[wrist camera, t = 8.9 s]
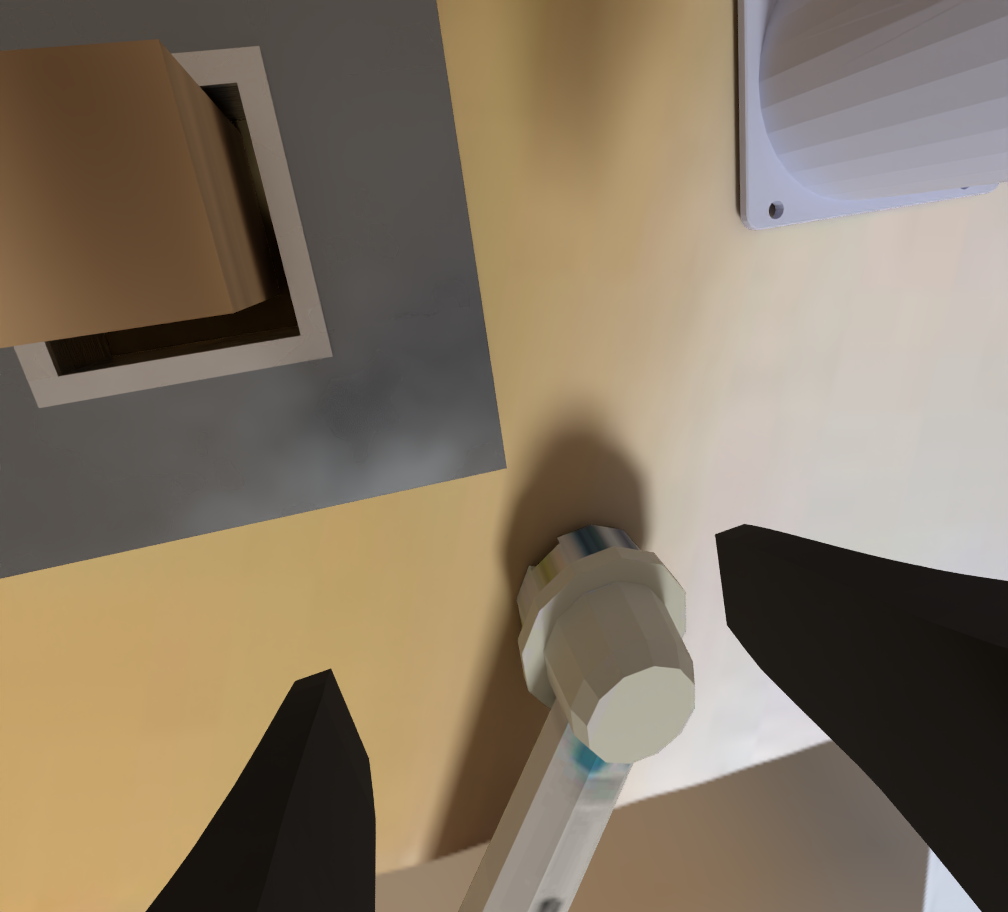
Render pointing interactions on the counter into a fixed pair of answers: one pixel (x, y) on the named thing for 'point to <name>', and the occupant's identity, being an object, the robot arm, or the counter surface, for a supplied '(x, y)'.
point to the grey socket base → (313, 288)
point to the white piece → (586, 710)
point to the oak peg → (120, 196)
